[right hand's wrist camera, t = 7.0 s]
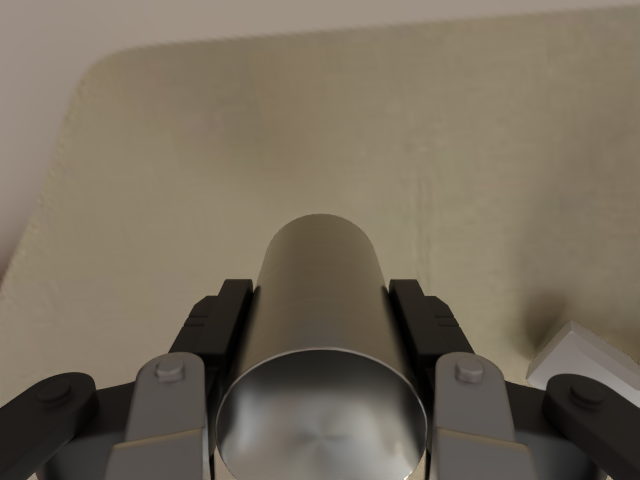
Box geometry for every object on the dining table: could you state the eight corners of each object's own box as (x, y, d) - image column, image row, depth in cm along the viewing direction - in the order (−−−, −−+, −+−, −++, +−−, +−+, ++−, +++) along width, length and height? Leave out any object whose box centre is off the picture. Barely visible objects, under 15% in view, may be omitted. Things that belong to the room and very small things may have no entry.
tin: (249, 293, 15) (187, 480, 8) (288, 195, 14) (256, 316, 7) (349, 329, 16) (372, 533, 9) (395, 238, 15) (468, 391, 7)
